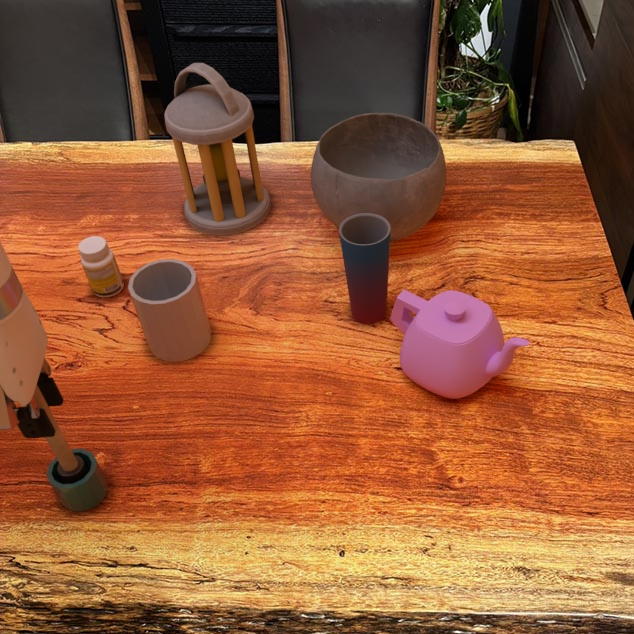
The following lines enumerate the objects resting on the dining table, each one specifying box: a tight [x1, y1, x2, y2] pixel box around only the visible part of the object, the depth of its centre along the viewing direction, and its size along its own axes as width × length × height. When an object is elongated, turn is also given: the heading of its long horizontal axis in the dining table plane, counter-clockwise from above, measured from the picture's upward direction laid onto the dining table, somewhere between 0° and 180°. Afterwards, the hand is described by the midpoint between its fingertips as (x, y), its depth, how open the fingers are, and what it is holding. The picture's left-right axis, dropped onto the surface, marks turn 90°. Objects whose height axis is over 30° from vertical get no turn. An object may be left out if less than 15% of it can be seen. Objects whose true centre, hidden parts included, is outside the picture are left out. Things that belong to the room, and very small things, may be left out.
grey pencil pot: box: [127, 258, 212, 363], centre depth 110 cm, size 9×9×11 cm
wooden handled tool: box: [33, 385, 89, 484], centre depth 89 cm, size 3×3×19 cm
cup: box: [338, 213, 391, 325], centre depth 110 cm, size 7×7×15 cm
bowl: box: [310, 112, 447, 243], centre depth 124 cm, size 20×20×15 cm
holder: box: [46, 447, 109, 513], centre depth 95 cm, size 6×6×5 cm
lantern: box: [164, 62, 271, 236], centre depth 124 cm, size 14×14×25 cm
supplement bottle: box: [77, 235, 125, 298], centre depth 118 cm, size 5×5×8 cm
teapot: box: [389, 289, 531, 400], centre depth 104 cm, size 13×20×11 cm
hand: (44, 418), depth 86 cm, fingers open, 3 cm apart
